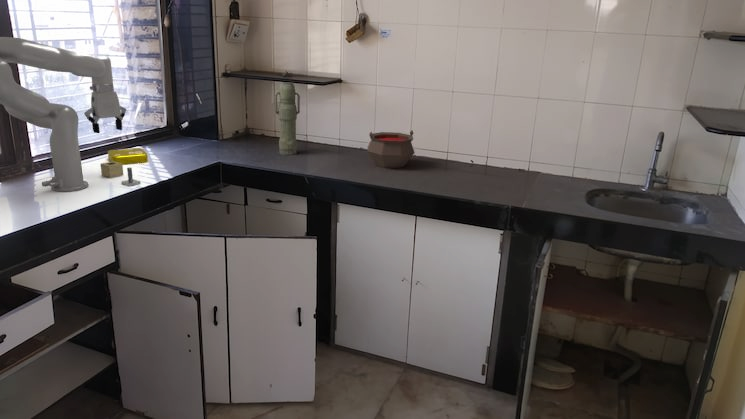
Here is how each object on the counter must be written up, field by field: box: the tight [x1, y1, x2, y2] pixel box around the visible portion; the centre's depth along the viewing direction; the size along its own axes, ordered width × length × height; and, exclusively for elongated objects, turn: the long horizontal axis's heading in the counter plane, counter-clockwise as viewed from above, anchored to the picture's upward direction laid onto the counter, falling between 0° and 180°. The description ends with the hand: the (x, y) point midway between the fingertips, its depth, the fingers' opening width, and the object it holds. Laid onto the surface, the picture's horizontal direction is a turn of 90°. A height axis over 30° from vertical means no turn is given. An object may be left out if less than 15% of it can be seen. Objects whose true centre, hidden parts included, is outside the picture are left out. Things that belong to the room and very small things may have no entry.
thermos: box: [274, 81, 301, 156], centre depth 278 cm, size 9×12×35 cm
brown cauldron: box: [367, 129, 416, 169], centre depth 267 cm, size 24×24×16 cm
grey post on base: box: [121, 167, 141, 187], centre depth 222 cm, size 5×5×6 cm
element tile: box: [107, 147, 149, 166], centre depth 257 cm, size 15×15×5 cm
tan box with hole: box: [99, 161, 124, 179], centre depth 233 cm, size 6×6×5 cm
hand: (108, 131), depth 228 cm, fingers open, 9 cm apart
